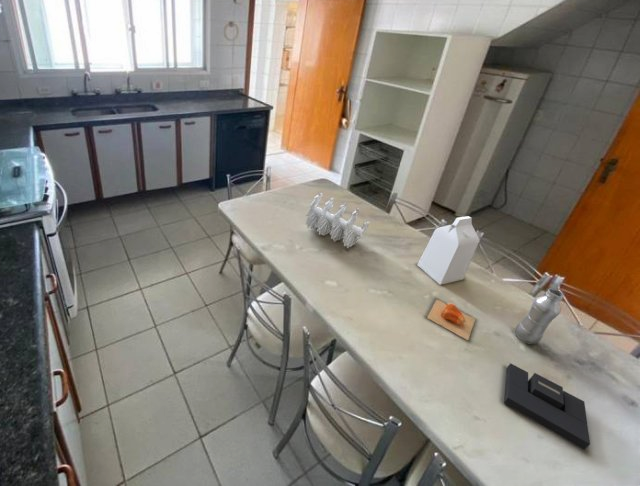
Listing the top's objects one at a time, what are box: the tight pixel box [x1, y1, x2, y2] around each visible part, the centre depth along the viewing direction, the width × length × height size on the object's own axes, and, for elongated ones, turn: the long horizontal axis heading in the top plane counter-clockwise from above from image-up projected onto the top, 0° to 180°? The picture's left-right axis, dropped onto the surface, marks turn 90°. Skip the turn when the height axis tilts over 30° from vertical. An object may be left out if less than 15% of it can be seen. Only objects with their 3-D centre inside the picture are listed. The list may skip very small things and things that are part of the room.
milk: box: [417, 215, 480, 286], centre depth 126 cm, size 12×12×26 cm
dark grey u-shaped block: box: [503, 362, 591, 450], centre depth 86 cm, size 16×13×2 cm
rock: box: [427, 299, 476, 341], centre depth 110 cm, size 12×12×4 cm
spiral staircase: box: [305, 192, 370, 249], centre depth 145 cm, size 18×18×25 cm
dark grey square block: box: [528, 372, 564, 409], centre depth 88 cm, size 6×6×4 cm
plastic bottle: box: [514, 287, 565, 345], centre depth 101 cm, size 6×7×20 cm
